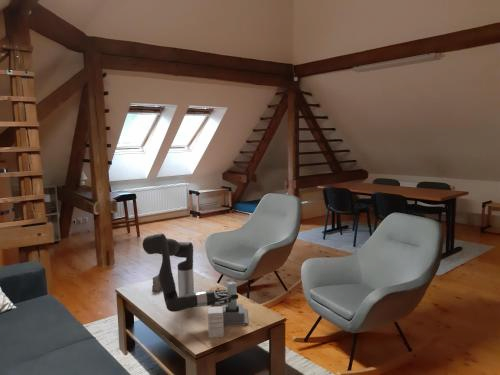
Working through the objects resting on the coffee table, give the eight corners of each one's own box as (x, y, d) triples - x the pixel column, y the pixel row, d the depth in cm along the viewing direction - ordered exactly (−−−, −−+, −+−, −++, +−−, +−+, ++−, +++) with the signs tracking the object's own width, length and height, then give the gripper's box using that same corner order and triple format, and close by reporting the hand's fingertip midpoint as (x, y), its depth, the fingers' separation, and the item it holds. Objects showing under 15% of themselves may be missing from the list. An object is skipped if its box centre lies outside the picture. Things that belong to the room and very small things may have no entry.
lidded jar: (218, 297, 238) (218, 282, 237) (231, 301, 232) (231, 286, 230) (205, 303, 230) (205, 287, 229) (218, 308, 223) (218, 292, 222)
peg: (227, 308, 213) (226, 281, 211) (236, 308, 213) (236, 281, 211) (227, 312, 208) (226, 285, 206) (236, 312, 208) (236, 284, 206)
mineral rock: (168, 283, 262) (168, 268, 261) (174, 288, 253) (173, 273, 252) (149, 287, 256) (148, 272, 254) (154, 293, 247) (153, 277, 245)
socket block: (217, 311, 219) (217, 303, 218) (246, 310, 220) (246, 302, 219) (216, 325, 203) (216, 316, 203) (247, 324, 204) (247, 315, 203)
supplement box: (208, 330, 199) (207, 306, 197) (223, 329, 199) (222, 305, 198) (208, 338, 191) (207, 313, 190) (223, 337, 192) (223, 312, 190)
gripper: (207, 297, 198) (240, 292, 203) (202, 286, 212) (233, 282, 217) (207, 311, 199) (240, 306, 204) (202, 300, 213) (233, 296, 218)
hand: (236, 294), depth 210 cm, fingers closed on peg, 5 cm apart
